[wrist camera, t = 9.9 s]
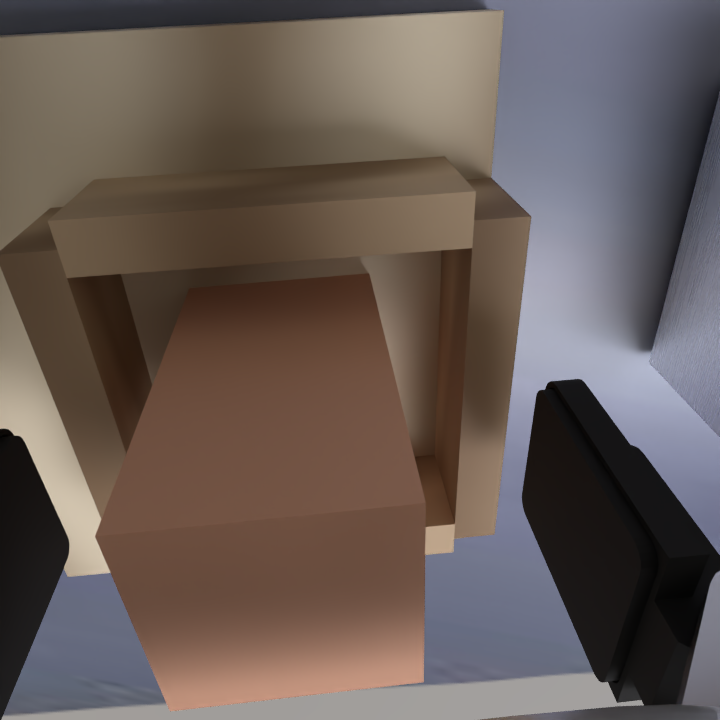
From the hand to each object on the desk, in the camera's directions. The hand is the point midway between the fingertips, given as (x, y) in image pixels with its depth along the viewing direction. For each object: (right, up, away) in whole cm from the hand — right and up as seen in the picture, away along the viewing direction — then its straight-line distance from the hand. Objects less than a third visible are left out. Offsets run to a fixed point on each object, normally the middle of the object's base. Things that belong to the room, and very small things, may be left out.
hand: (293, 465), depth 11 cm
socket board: (-2, +2, +4) cm, 5 cm away
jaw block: (0, +2, +3) cm, 4 cm away
